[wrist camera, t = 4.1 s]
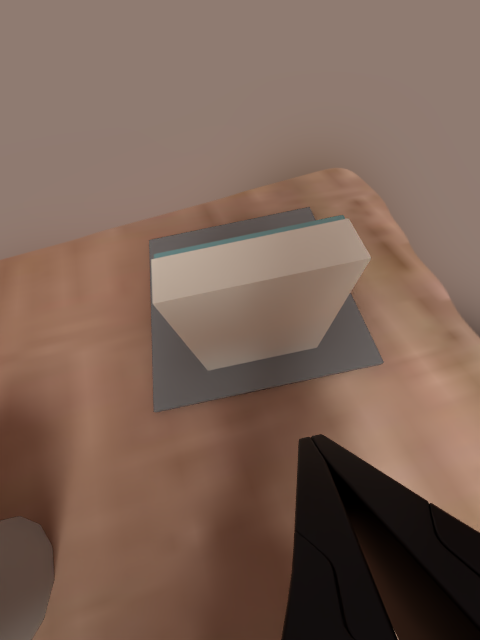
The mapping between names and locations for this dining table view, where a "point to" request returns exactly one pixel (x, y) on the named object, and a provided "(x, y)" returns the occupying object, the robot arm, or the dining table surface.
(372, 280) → the dining table surface
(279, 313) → the cream flat block
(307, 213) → the mat
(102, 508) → the dining table surface
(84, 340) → the dining table surface
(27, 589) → the cup
